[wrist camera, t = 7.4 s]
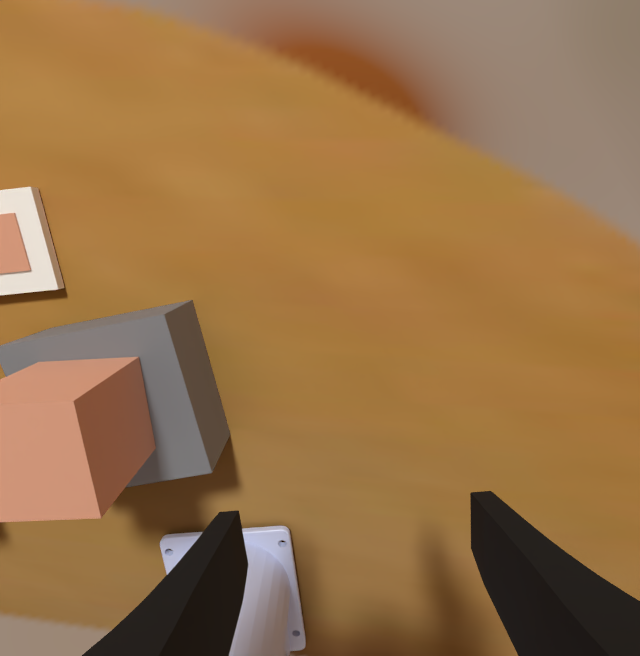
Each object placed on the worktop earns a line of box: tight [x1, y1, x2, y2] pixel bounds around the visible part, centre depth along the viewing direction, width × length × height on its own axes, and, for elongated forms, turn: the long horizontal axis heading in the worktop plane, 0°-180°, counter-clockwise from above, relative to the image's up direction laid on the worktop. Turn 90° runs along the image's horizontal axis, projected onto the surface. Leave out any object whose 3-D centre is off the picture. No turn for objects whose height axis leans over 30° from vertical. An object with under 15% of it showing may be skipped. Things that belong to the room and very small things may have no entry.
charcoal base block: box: [0, 300, 230, 488], centre depth 20 cm, size 8×8×4 cm
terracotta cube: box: [0, 357, 156, 522], centre depth 16 cm, size 5×5×5 cm
